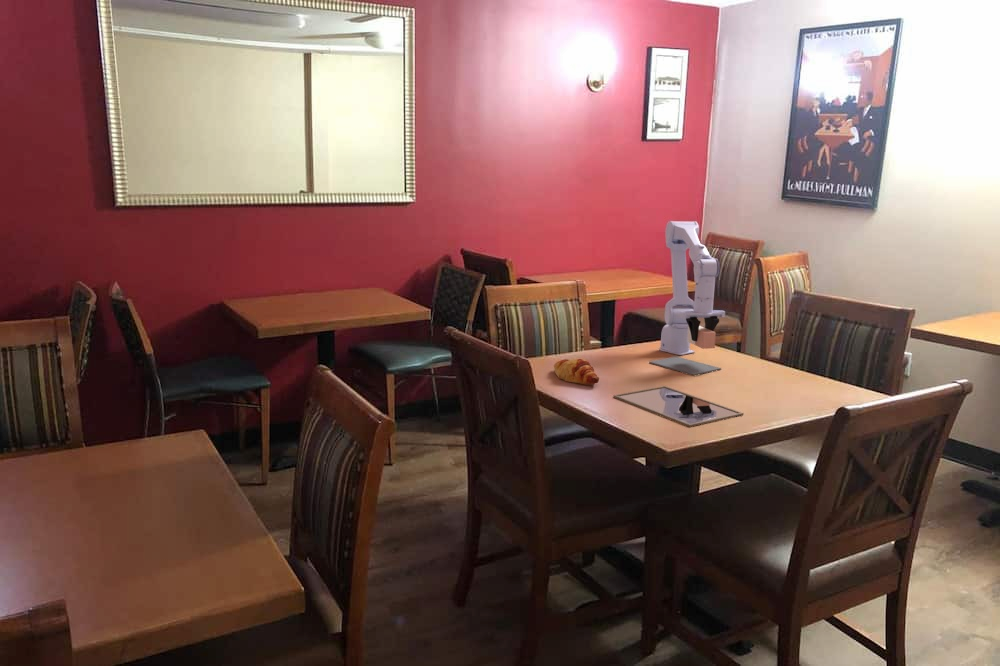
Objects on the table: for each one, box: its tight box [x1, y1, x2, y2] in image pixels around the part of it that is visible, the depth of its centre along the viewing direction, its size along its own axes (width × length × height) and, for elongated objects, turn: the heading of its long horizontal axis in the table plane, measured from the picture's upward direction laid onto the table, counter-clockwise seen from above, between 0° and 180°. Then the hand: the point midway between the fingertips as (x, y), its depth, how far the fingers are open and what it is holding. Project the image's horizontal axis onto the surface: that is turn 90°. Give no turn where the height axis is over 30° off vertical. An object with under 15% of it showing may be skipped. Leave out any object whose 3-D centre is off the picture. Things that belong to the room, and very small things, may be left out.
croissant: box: [553, 357, 600, 386], centre depth 227 cm, size 21×10×8 cm, turn 31°
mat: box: [648, 355, 722, 376], centre depth 245 cm, size 18×13×1 cm
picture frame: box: [612, 385, 744, 428], centre depth 204 cm, size 19×1×28 cm
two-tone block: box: [687, 325, 717, 350], centre depth 243 cm, size 4×10×5 cm, turn 15°
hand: (700, 340), depth 244 cm, fingers closed on two-tone block, 4 cm apart
